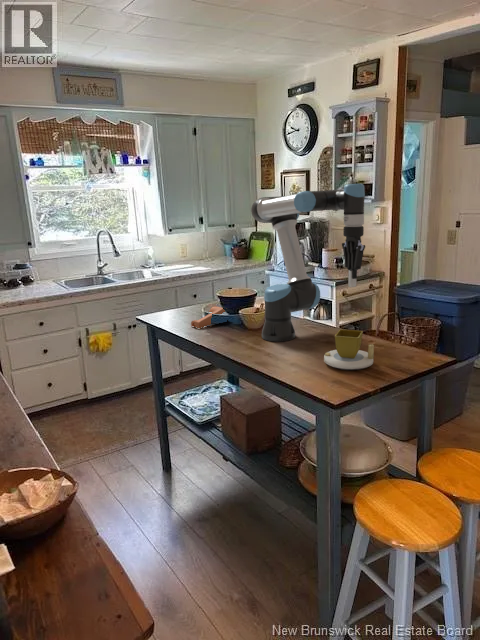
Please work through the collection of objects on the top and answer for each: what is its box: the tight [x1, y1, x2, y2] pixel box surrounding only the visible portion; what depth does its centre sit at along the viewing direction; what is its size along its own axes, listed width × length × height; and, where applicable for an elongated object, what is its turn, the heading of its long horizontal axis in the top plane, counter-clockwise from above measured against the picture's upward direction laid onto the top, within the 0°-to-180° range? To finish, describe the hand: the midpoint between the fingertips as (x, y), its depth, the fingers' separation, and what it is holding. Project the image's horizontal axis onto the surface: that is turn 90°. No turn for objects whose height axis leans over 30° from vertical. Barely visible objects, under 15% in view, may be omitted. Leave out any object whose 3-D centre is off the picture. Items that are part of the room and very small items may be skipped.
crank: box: [190, 306, 225, 329], centre depth 242 cm, size 20×8×8 cm, turn 131°
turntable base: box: [333, 367, 364, 371], centre depth 178 cm, size 13×13×1 cm
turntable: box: [323, 343, 375, 370], centre depth 177 cm, size 18×18×7 cm
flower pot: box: [334, 329, 364, 358], centre depth 177 cm, size 9×9×9 cm
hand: (352, 286), depth 188 cm, fingers closed
